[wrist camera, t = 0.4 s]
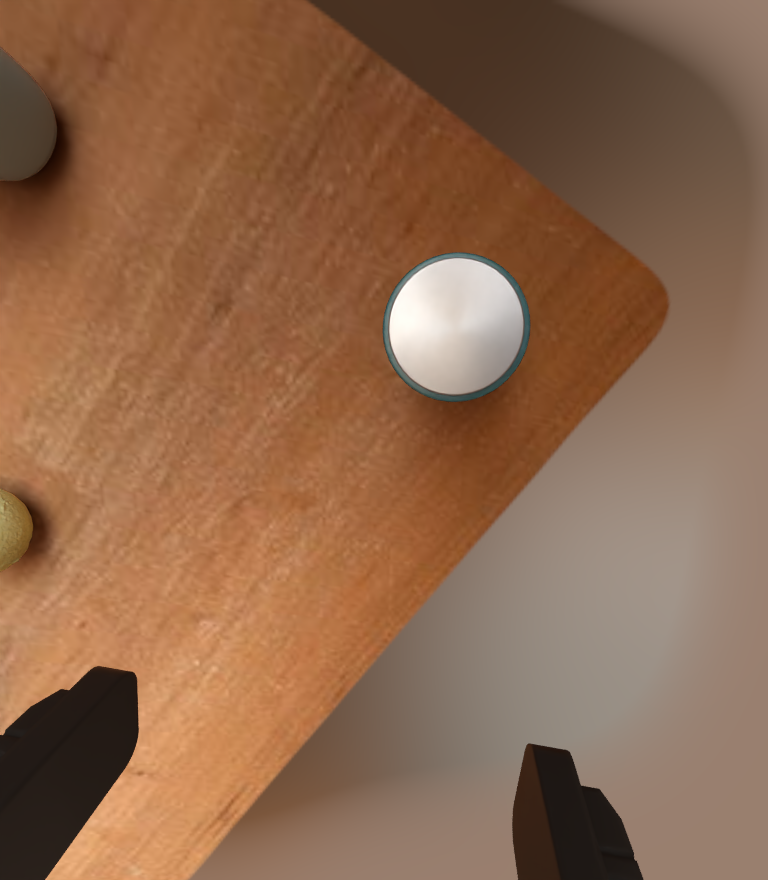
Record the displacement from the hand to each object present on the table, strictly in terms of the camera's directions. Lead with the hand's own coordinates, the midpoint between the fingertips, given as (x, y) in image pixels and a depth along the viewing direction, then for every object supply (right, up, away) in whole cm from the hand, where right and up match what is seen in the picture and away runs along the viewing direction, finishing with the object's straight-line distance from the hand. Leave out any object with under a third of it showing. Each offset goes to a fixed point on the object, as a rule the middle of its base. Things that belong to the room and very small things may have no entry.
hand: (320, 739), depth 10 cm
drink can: (+6, +12, +21) cm, 25 cm away
